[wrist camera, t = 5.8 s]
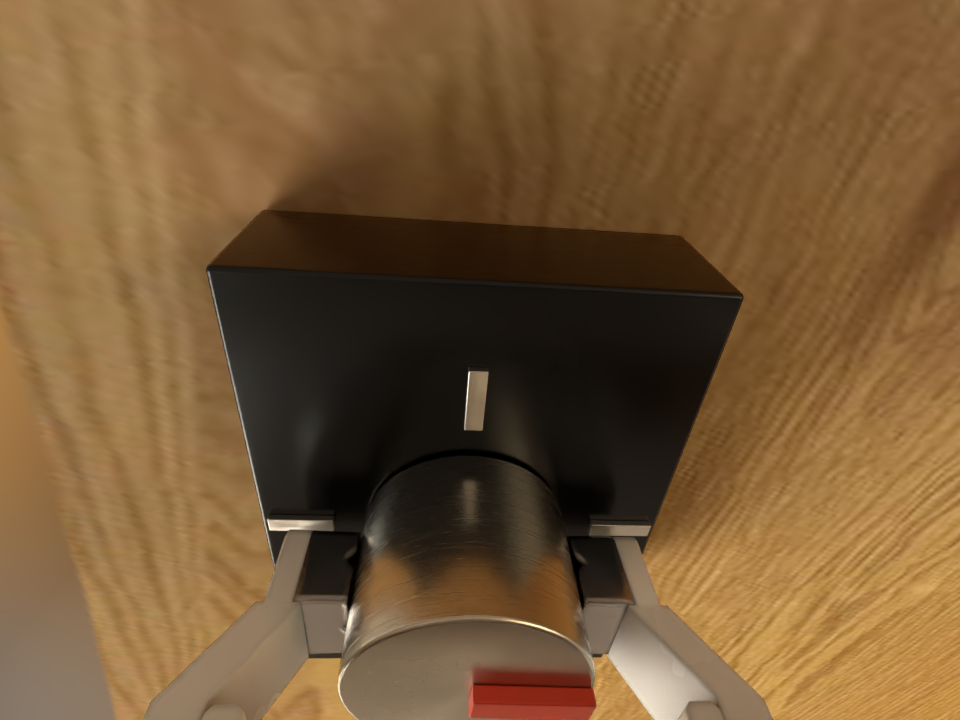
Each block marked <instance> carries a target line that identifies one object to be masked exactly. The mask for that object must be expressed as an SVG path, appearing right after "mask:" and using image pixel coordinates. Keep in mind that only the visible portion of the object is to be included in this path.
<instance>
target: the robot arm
mask: <svg viewBox="0 0 960 720" xmlns="http://www.w3.org/2000/svg"><path fill="white" fill-rule="evenodd" d="M361 542H362V532H341V531H319V530H289V531H288V533H287V534H286V536H285V538H284V541H283V544H282V547H281V550H280V553H279V556H278V559H277V562H276V565H275V568H274V571H273V574H272V578H271V581H270V584H269V587H268V590H267V593H266V596H265V599H264V602H255V603H254V604H253V605H252V606H251V607H250V608H249V609H248V610H247V611H246V612H245V613H244V614H243V615H242V616H241V617H240V618H239V619H238V620H236V621H235V622H234V623H233V624H232V625H231V626H230V627H229V628H228V629H227V630H226V631H225V632H224V633H223V634H222V635H221V636H220V637H219V638H218V639H216V640H215V641H214V642H213V643H212V644H211V645H210V646H209V647H208V648H207V649H206V650H205V651H204V652H203V653H202V654H201V655H200V656H199V657H198V658H197V659H195V660H194V661H193V662H192V663H191V664H190V665H189V666H188V667H187V668H186V669H185V670H184V671H183V672H182V673H181V674H180V675H179V676H178V677H177V678H175V679H174V680H173V681H172V682H171V683H170V684H169V685H168V686H167V687H166V688H165V689H164V690H163V691H162V692H161V693H160V694H159V695H158V696H157V697H156V698H154V699H153V700H152V701H151V702H150V705H149V707H148V709H147V711H146V714H145V716H144V718H143V720H261V719H262V718H263V716H264V715H265V714H266V713H267V711H268V710H269V709H270V707H271V706H272V705H273V703H274V702H275V701H276V699H277V698H278V697H279V696H280V694H281V693H282V692H283V690H284V689H285V688H286V686H287V685H288V684H289V682H290V681H291V680H292V678H293V677H294V676H295V675H296V673H297V672H298V671H299V669H300V668H301V667H302V665H303V664H304V663H305V661H306V660H307V659H308V657H309V654H322V653H342V650H343V645H344V639H345V633H346V628H347V622H348V616H349V611H350V605H351V599H352V594H353V588H354V582H355V577H356V571H357V565H358V560H359V554H360V548H361ZM567 542H568V547H569V551H570V556H571V560H572V565H573V570H574V574H575V579H576V583H577V588H578V593H579V597H580V602H581V606H582V611H583V615H584V620H585V625H586V629H587V634H588V638H589V643H590V648H591V652H592V654H608V656H607V657H608V658H609V659H610V661H611V662H612V663H613V665H614V666H615V667H616V669H617V670H618V672H619V673H620V674H621V676H622V677H623V678H624V680H625V681H626V682H627V684H628V685H629V686H630V688H631V689H632V690H633V692H634V693H635V694H636V696H637V697H638V699H639V700H640V701H641V703H642V704H643V705H644V707H645V708H646V709H647V711H648V712H649V713H650V715H651V716H652V717H653V719H654V720H773V718H772V716H771V714H770V712H769V710H768V707H767V705H766V703H765V701H764V699H763V698H762V697H761V696H760V695H759V694H758V693H757V692H756V691H755V690H754V689H753V688H752V687H751V686H750V685H749V684H748V683H747V682H746V681H744V680H743V679H742V678H741V677H740V676H739V675H738V674H737V673H736V672H735V671H734V670H733V669H732V668H731V667H730V666H729V665H728V664H727V663H726V662H725V661H724V660H723V659H722V658H721V657H720V656H719V655H718V654H717V653H716V652H715V651H714V650H712V649H711V648H710V647H709V646H708V645H707V644H706V643H705V642H704V641H703V640H702V639H701V638H700V637H699V636H698V635H697V634H696V633H695V632H694V631H693V630H692V629H691V628H690V627H689V626H688V625H687V624H686V623H685V622H684V621H683V620H682V619H680V618H679V617H678V616H677V615H676V614H675V613H674V612H673V611H672V610H671V609H670V608H669V607H668V606H663V605H660V602H659V600H658V597H657V594H656V591H655V589H654V586H653V583H652V580H651V578H650V575H649V572H648V569H647V567H646V564H645V561H644V558H643V556H642V553H641V550H640V548H639V545H638V542H637V541H636V539H635V538H634V537H610V536H567Z"/></svg>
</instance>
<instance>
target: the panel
mask: <svg viewBox="0 0 960 720" xmlns="http://www.w3.org/2000/svg"><path fill="white" fill-rule="evenodd" d="M206 272H207V276H208V281H209V285H210V289H211V294H212V298H213V303H214V307H215V311H216V316H217V320H218V325H219V329H220V333H221V338H222V342H223V347H224V351H225V355H226V360H227V364H228V368H229V373H230V377H231V382H232V386H233V390H234V395H235V399H236V404H237V408H238V412H239V417H240V421H241V426H242V430H243V434H244V439H245V443H246V448H247V452H248V456H249V461H250V465H251V469H252V474H253V478H254V483H255V487H256V491H257V496H258V500H259V505H260V509H261V513H262V518H263V522H264V527H265V531H266V535H267V540H268V544H269V548H270V553H271V557H272V562H273V566H274V568H275V565H276V562H277V559H278V556H279V553H280V550H281V547H282V544H283V541H284V538H285V536H286V534H287V533H288V531H289V530H319V531H341V532H362V537H363V531H364V525H365V520H366V514H367V510H368V508H369V505H370V503H371V501H372V499H373V498H374V496H375V494H376V493H377V492H378V491H379V490H380V488H381V487H382V486H383V485H384V484H385V483H386V482H387V481H389V480H390V479H391V478H392V477H394V476H395V475H397V474H398V473H400V472H401V471H403V470H405V469H407V468H409V467H411V466H413V465H416V464H419V463H421V462H424V461H428V460H431V459H435V458H440V457H446V456H456V455H479V456H487V457H493V458H498V459H502V460H506V461H509V462H511V463H514V464H517V465H519V466H521V467H523V468H525V469H527V470H529V471H530V472H532V473H533V474H535V475H536V476H538V477H539V478H540V479H541V480H542V481H543V482H545V483H546V485H547V486H548V487H549V488H550V489H551V491H552V492H553V493H554V495H555V497H556V499H557V501H558V504H559V506H560V510H561V514H562V519H563V524H564V528H565V533H566V537H567V536H610V537H634V538H635V539H636V541H637V542H638V545H639V548H640V550H641V553H642V554H643V552H644V549H645V547H646V544H647V542H648V539H649V537H650V534H651V532H652V529H653V526H654V524H655V521H656V519H657V516H658V514H659V511H660V509H661V506H662V504H663V501H664V499H665V496H666V494H667V491H668V489H669V486H670V484H671V481H672V478H673V476H674V473H675V471H676V468H677V466H678V463H679V461H680V458H681V456H682V453H683V451H684V448H685V446H686V443H687V441H688V438H689V435H690V433H691V430H692V428H693V425H694V423H695V420H696V418H697V415H698V413H699V410H700V408H701V405H702V403H703V400H704V398H705V395H706V393H707V390H708V387H709V385H710V382H711V380H712V377H713V375H714V372H715V370H716V367H717V365H718V362H719V360H720V357H721V355H722V352H723V350H724V347H725V345H726V342H727V339H728V337H729V334H730V332H731V329H732V327H733V324H734V322H735V319H736V317H737V314H738V312H739V309H740V307H741V304H742V302H743V294H742V293H741V292H740V291H739V290H738V289H737V288H736V287H735V286H734V285H733V284H732V283H730V282H729V281H728V280H727V279H726V278H725V277H724V276H723V275H722V274H721V273H720V272H719V271H718V270H717V269H716V268H715V267H714V266H713V265H712V264H711V263H709V262H708V261H707V260H706V259H705V258H704V257H703V256H702V255H701V254H700V253H699V252H698V251H697V250H696V249H695V248H694V247H693V246H692V245H691V244H690V243H688V242H687V241H686V240H685V239H684V238H683V237H682V236H676V235H660V234H644V233H628V232H612V231H596V230H580V229H564V228H548V227H531V226H515V225H499V224H483V223H467V222H451V221H435V220H419V219H403V218H387V217H371V216H355V215H339V214H323V213H307V212H290V211H274V210H263V211H261V212H260V213H259V214H258V215H257V216H256V217H255V218H254V219H253V220H252V221H251V222H250V223H249V224H248V225H247V226H246V227H245V228H244V229H243V230H242V231H241V232H240V233H239V234H238V235H237V236H236V237H235V238H234V239H233V240H232V241H231V242H230V243H229V244H228V245H227V246H226V247H225V248H224V249H223V250H222V251H221V252H220V253H219V254H218V255H217V256H216V257H215V258H214V259H213V260H212V261H211V262H210V263H209V264H208V265H207V268H206ZM602 655H603V654H592V657H602ZM341 656H342V653H322V654H309V657H308V658H341Z"/></svg>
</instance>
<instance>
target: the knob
mask: <svg viewBox="0 0 960 720" xmlns="http://www.w3.org/2000/svg"><path fill="white" fill-rule="evenodd" d="M594 679H595V666H594V661H593V657H592V652H591V648H590V643H589V638H588V634H587V629H586V625H585V620H584V615H583V611H582V606H581V602H580V597H579V593H578V588H577V583H576V579H575V574H574V570H573V565H572V560H571V556H570V551H569V547H568V542H567V537H566V533H565V528H564V524H563V519H562V514H561V510H560V506H559V504H558V501H557V499H556V497H555V495H554V493H553V492H552V491H551V489H550V488H549V487H548V486H547V485H546V483H545V482H543V481H542V480H541V479H540V478H539V477H538V476H536V475H535V474H533V473H532V472H530V471H529V470H527V469H525V468H523V467H521V466H519V465H517V464H514V463H511V462H509V461H506V460H502V459H498V458H493V457H487V456H479V455H456V456H446V457H440V458H435V459H431V460H428V461H424V462H421V463H419V464H416V465H413V466H411V467H409V468H407V469H405V470H403V471H401V472H400V473H398V474H397V475H395V476H394V477H392V478H391V479H390V480H389V481H387V482H386V483H385V484H384V485H383V486H382V487H381V488H380V490H379V491H378V492H377V493H376V494H375V496H374V498H373V499H372V501H371V503H370V505H369V508H368V510H367V514H366V520H365V525H364V531H363V537H362V542H361V548H360V554H359V560H358V565H357V571H356V577H355V582H354V588H353V594H352V599H351V605H350V611H349V616H348V622H347V628H346V633H345V639H344V645H343V650H342V656H341V662H340V668H339V673H338V680H337V686H338V693H339V696H340V699H341V701H342V703H343V705H344V706H345V707H346V709H347V710H348V711H349V712H350V713H351V714H352V715H353V716H354V717H355V718H357V719H358V720H589V718H590V717H591V715H592V713H593V711H594V710H595V708H596V700H595V695H594V690H593V685H594Z"/></svg>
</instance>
